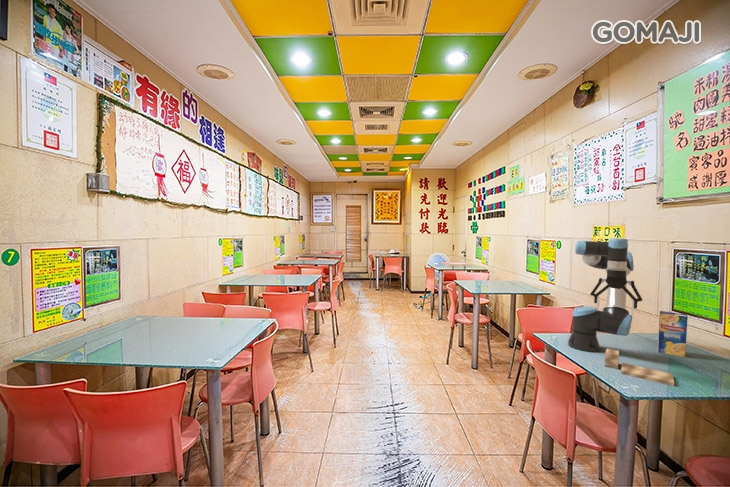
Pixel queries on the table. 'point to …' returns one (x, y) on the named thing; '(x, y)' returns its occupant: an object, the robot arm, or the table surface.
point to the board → (647, 374)
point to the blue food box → (672, 333)
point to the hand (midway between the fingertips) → (614, 312)
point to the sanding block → (611, 358)
